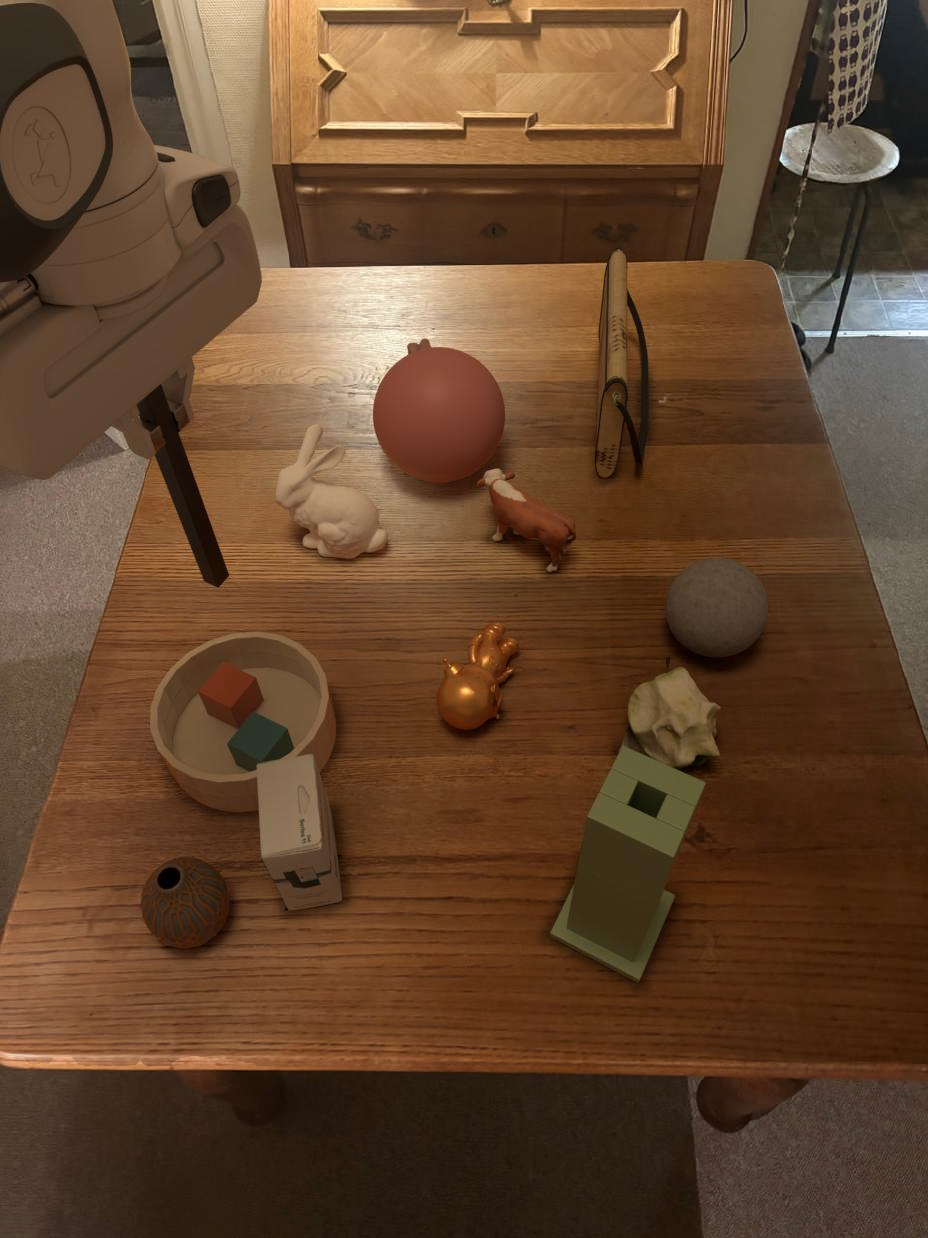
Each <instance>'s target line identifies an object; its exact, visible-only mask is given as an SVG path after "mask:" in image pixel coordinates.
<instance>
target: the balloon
mask: <svg viewBox="0 0 928 1238" xmlns="http://www.w3.org/2000/svg"><path fill="white" fill-rule="evenodd" d="M406 349H407V355H405V356H404V357H402V358H400V359H399V360H397V362H395V363H394V364H393V365H392V366H391V367H390V368H389V369H388V371H386V373H385V374H384V376H383V378H381V381H380V383H379V385H378V387H377V390H376V392H375V395H374V399H373V405H372V421H373V430H374V432H375V436H376V439H377V441H378V444H379V446H380V448H381V450H382V451H383V453H384V454H385V456H386V457H387V459H388V460H389V461H390V462H391V463H392V464H393V465H394V466H395V467H396V468H398V469H399V470H401V472H403V473H405V474H407V475H409V476H410V477H412V478H415V479H417V480H420V481H424V482H428V483H450V482H454V481H459V480H462V479H464V478H467V477H468V476H470V475H472V474H474V473H475V472H477V471H478V470H480V469H481V468H483V466H484V465H486V464H487V462H489V460H490V459H491V458H492V456H493V455H494V453H495V452H496V450H497V448H498V447H499V444H500V442H501V439H502V437H503V433H504V429H505V423H506V407H505V400H504V395H503V393H502V391H501V388H500V385H499V384H498V381H497V379H495V377H494V376H493V373H491V371H490V370H489V369H488V368H487V367H486V366H485V364H483V363H482V362H481V361H480V360H478V359H477V358H475V357H474V356H472V355H471V354H468V353H467V352H464V351H462V350H459V349H456V348H451V347H445V346H433V347H432V346H431V341H430V340H429V339H427V338H422V339H421V340H420V341H419V343H418V342H409V343H408V344H407V345H406Z"/></svg>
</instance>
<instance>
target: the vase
mask: <svg viewBox="0 0 928 1238" xmlns="http://www.w3.org/2000/svg"><path fill="white" fill-rule="evenodd" d="M230 907H231V896H230V890H229V887H228V885H227V882H226V880H225V878H224V877H223V875H222V873H221V872H220V871H219V870H218V869H217V868H216V867H215V866H214V865H212V864H211V863H209V862H208V861H205V860H203V859H201V858H198V857H191V856H182V857H176V858H172V859H169V860H166V861H165V862H163V863H162V864H161V865H159V866H158V867H156V868H155V869H154V870H153V871H152V872H151V873H150V875H149V876H148V878H147V879H146V881H145V884H144V885H143V887H142V891H141V896H140V911H141V916H142V919H143V922H144V924H145V926H146V928H147V929H148V930H149V932H150V933H151V934H152V935H153V936H154V938H156V939H157V940H159V942H161V943H163V944H165V945H167V946H169V947H172V948H178V949H190V948H195V947H198V946H201V945H204V944H205V943H207V942H209V941H211V939H213V938H214V937H215V936H216V935H217V934H218V933H219V932H220V931H221V929H222V928H223V926H224V925H225V923H226V921H227V918H228V915H229V911H230Z"/></svg>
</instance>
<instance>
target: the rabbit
mask: <svg viewBox="0 0 928 1238" xmlns="http://www.w3.org/2000/svg"><path fill="white" fill-rule="evenodd" d="M323 434H324V427H323V426H322V425H321V424H318V423H315V424H312V425H310V426H309V427H308V428H307V430H306V431H305V434H304V437H303V440H302V443H301V447H300V450H299V453H298V456H297V458H296V461H295V463H294V464H291V465H289V466H286V467H284V468H283V469H281V470H280V471H279V473H278V476H277V482H276V485H275V493H274V500H275V503H276V504H277V505H279V506H281V508H282V509H285V510H288V513H289V516H290V517H291V519H292V521H294V522H295V523H296V524H297V525H298V526H300V527H301V528H304V529H307V530H308V531H309V533H307V534H305V535H304V536H303V538H302V546H303V547H304V548H306V549H317V552H318V554H319V555H320V557H324V558H341V559H354V558H356V557H358V556H359V555H360V554H362V553H374V552H377V551H379V550H382V549H383V548H384V547H385V546H386V544H387V542H388V538H389V533H388V531H387V530H385V529H383V528H380V511H379V509H378V507H377V506H376V504H375V503H374V501H373V500H372V499H370V498H369V497H368V496H367V495H366V494H365V493H364V492H363V491H361V490H360V489H357V488H355V487H348V486H345V485H337V484H333V483H329V482H327V481H326V480H323V479H315V476H316V475H317V474H320V473H321V472H325V471H329V470H330V469H334V468H336V467H337V466H338V465H340V464H341V462H342V461H343V460H344V458H345V455H346V448H345V446H344V445H342V444H337V445H335V446H333V447H331V448H330V449H328V450H327V451H325V452H323V453H321V454H319V455H317V456H316V457H314V458H313V456H314V454H315V451H316V449H317V446H318V443H319V442H320V440H321V438H322V437H323ZM311 459H312V460H311Z"/></svg>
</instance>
